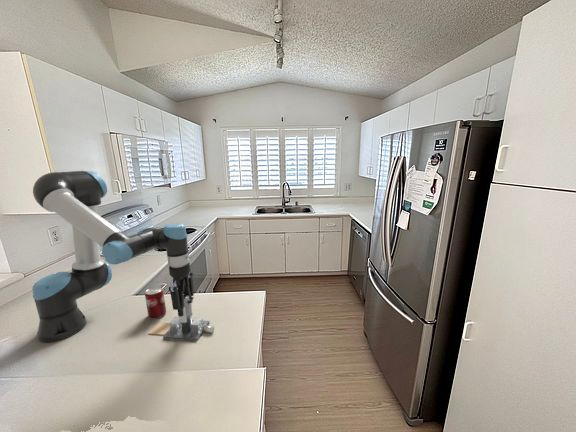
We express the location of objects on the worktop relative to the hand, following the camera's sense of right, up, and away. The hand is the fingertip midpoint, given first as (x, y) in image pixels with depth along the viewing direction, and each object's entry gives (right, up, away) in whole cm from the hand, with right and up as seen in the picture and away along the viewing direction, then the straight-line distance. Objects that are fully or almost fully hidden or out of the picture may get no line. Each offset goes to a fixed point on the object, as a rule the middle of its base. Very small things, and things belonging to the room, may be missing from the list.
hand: (186, 318), depth 101 cm
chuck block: (+2, -5, +1) cm, 6 cm away
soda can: (-18, -4, +12) cm, 22 cm away
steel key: (0, -4, +1) cm, 5 cm away
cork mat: (-11, -5, +2) cm, 12 cm away
